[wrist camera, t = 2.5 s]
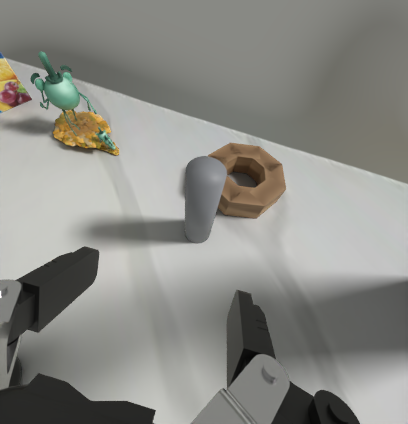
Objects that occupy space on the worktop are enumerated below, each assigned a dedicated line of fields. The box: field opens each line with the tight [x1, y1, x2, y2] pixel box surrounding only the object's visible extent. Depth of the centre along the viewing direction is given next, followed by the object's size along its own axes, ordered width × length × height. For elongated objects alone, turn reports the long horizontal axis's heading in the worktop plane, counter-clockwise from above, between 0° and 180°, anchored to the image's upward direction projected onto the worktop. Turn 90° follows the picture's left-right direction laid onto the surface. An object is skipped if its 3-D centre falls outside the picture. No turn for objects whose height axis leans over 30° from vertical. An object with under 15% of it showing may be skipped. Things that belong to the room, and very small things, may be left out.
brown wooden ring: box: [208, 143, 286, 218], centre depth 35 cm, size 13×13×4 cm
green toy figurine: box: [31, 52, 119, 155], centre depth 34 cm, size 10×18×15 cm, turn 42°
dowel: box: [185, 156, 227, 243], centre depth 25 cm, size 4×4×14 cm
